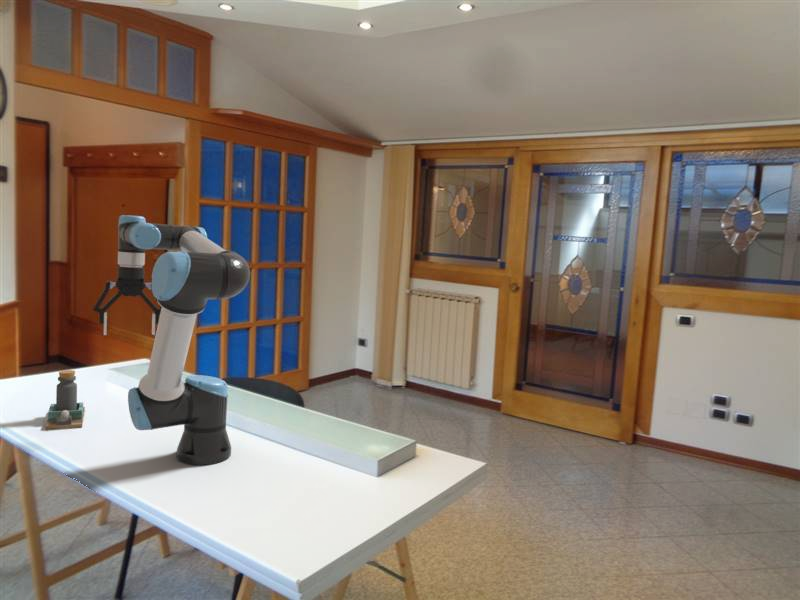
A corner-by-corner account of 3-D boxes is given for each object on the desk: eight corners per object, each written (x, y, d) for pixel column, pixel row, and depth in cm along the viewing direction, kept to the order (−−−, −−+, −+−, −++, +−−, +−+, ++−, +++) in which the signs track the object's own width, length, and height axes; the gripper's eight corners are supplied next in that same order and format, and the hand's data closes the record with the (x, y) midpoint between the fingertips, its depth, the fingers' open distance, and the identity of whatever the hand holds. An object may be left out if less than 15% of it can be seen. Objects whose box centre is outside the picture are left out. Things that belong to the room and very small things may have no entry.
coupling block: (81, 427, 186) (82, 413, 186) (45, 430, 182) (45, 415, 181) (84, 410, 203) (84, 396, 203) (51, 412, 199) (51, 398, 198)
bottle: (80, 414, 195) (81, 370, 194) (68, 419, 189) (69, 374, 188) (63, 412, 196) (64, 368, 194) (51, 417, 190) (52, 372, 188)
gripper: (173, 267, 188) (171, 331, 190) (85, 263, 177) (84, 332, 179) (175, 268, 181) (173, 336, 184) (84, 265, 170) (83, 336, 172)
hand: (129, 334), depth 181 cm, fingers open, 13 cm apart
